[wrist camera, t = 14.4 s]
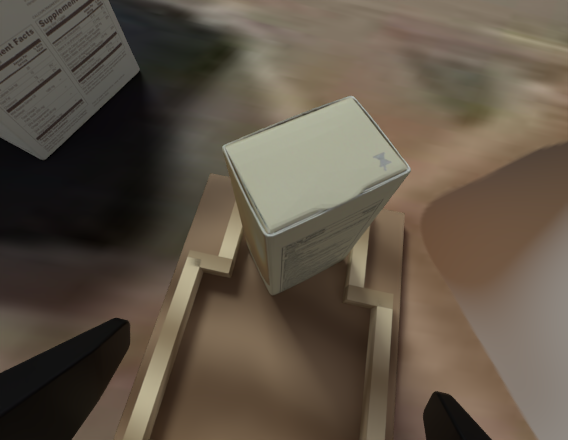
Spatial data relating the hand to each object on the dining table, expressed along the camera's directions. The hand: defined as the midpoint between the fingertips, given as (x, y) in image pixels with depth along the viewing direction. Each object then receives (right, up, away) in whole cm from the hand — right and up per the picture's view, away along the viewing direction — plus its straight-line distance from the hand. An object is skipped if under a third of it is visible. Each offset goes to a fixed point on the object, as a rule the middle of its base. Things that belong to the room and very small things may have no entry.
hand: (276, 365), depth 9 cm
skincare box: (+1, +2, +14) cm, 14 cm away
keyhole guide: (0, -3, +13) cm, 13 cm away
